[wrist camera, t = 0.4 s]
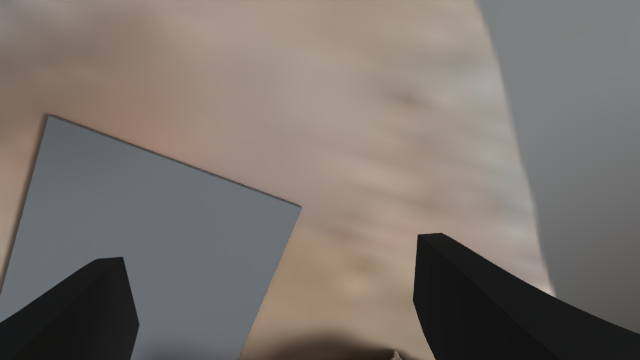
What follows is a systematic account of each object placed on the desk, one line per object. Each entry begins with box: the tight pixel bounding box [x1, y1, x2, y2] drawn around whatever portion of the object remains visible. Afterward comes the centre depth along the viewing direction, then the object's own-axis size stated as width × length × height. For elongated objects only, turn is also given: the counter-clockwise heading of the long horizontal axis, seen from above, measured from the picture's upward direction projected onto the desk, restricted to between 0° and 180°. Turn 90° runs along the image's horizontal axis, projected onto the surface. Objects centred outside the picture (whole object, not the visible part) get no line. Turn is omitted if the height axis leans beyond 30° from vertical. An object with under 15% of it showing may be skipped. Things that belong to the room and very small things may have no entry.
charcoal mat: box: [0, 115, 302, 360], centre depth 22 cm, size 20×12×1 cm, turn 157°
